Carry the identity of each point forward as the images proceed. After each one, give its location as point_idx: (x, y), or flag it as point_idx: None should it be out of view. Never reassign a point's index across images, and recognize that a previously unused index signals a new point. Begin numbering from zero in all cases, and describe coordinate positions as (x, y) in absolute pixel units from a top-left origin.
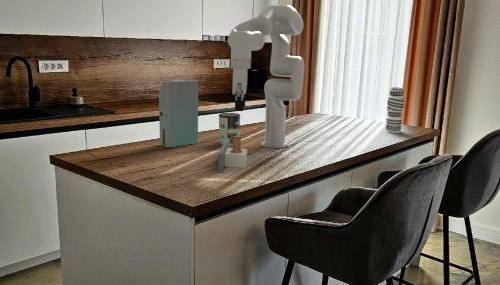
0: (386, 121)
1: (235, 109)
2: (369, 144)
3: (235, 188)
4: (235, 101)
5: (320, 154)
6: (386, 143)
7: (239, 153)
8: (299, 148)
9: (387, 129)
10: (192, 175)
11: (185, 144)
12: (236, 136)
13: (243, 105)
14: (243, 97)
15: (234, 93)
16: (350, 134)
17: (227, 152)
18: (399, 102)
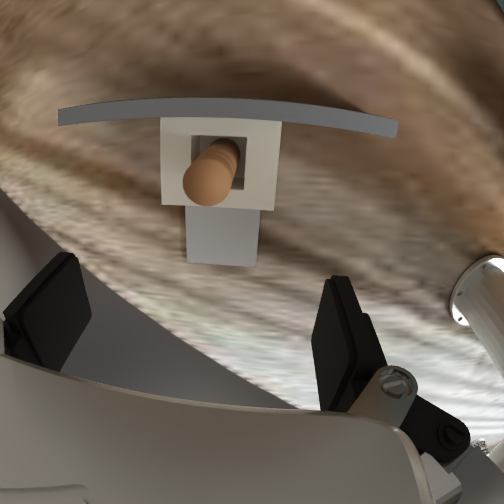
0: (486, 449)
1: (57, 260)
2: None
3: (14, 174)
4: (13, 309)
5: None
6: None
7: (181, 178)
8: (432, 346)
9: (476, 443)
10: (90, 27)
11: (500, 3)
12: (208, 181)
13: (314, 340)
14: (333, 411)
15: (152, 397)
16: (489, 409)
17: (192, 123)
18: None
